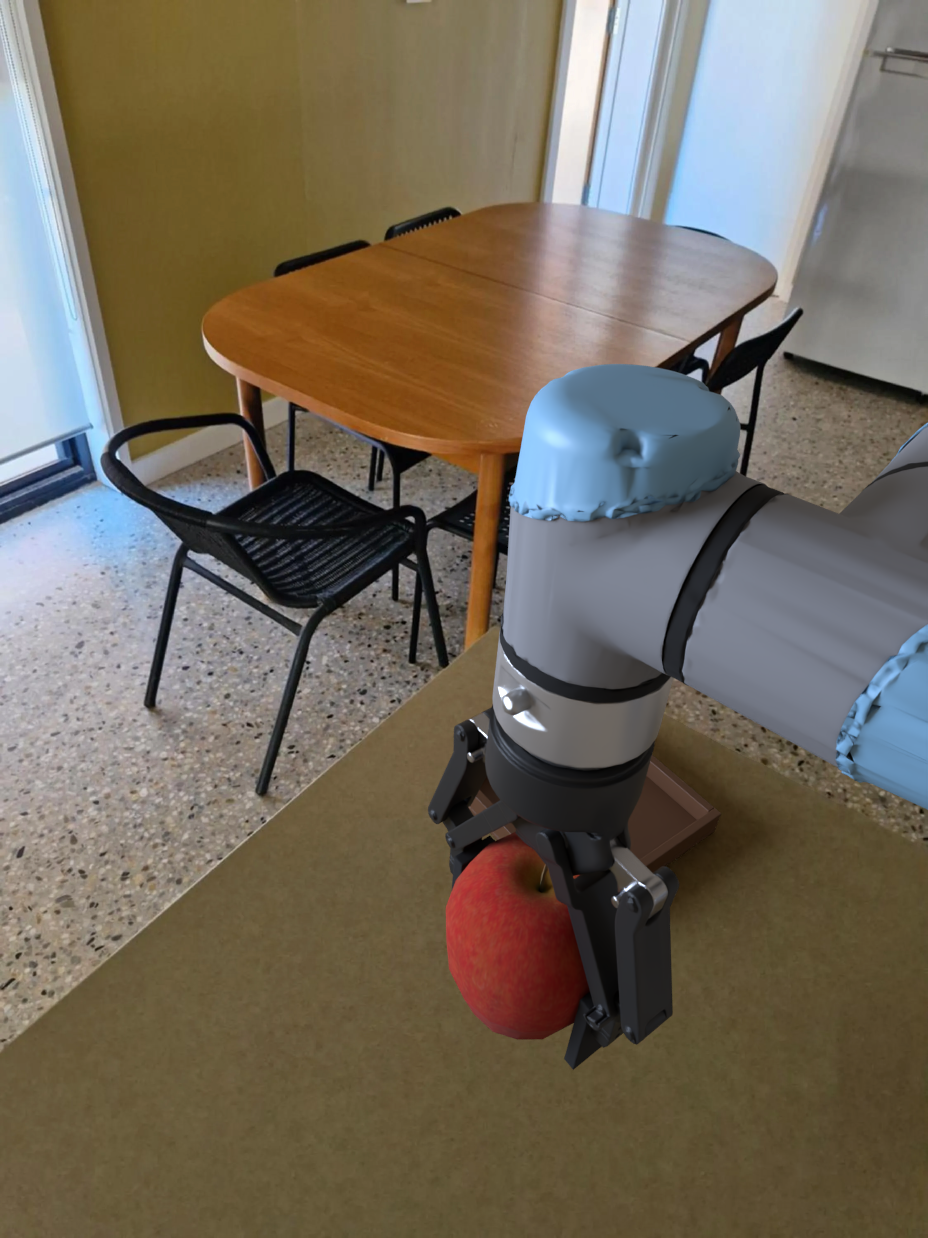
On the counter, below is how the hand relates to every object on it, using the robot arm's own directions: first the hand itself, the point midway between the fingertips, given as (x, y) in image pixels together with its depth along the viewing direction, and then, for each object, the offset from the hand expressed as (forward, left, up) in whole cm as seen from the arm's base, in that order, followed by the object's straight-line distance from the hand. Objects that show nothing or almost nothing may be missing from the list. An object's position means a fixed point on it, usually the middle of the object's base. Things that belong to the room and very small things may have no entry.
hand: (524, 977), depth 54 cm
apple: (0, 0, -2) cm, 2 cm away
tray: (+13, -20, -12) cm, 27 cm away
